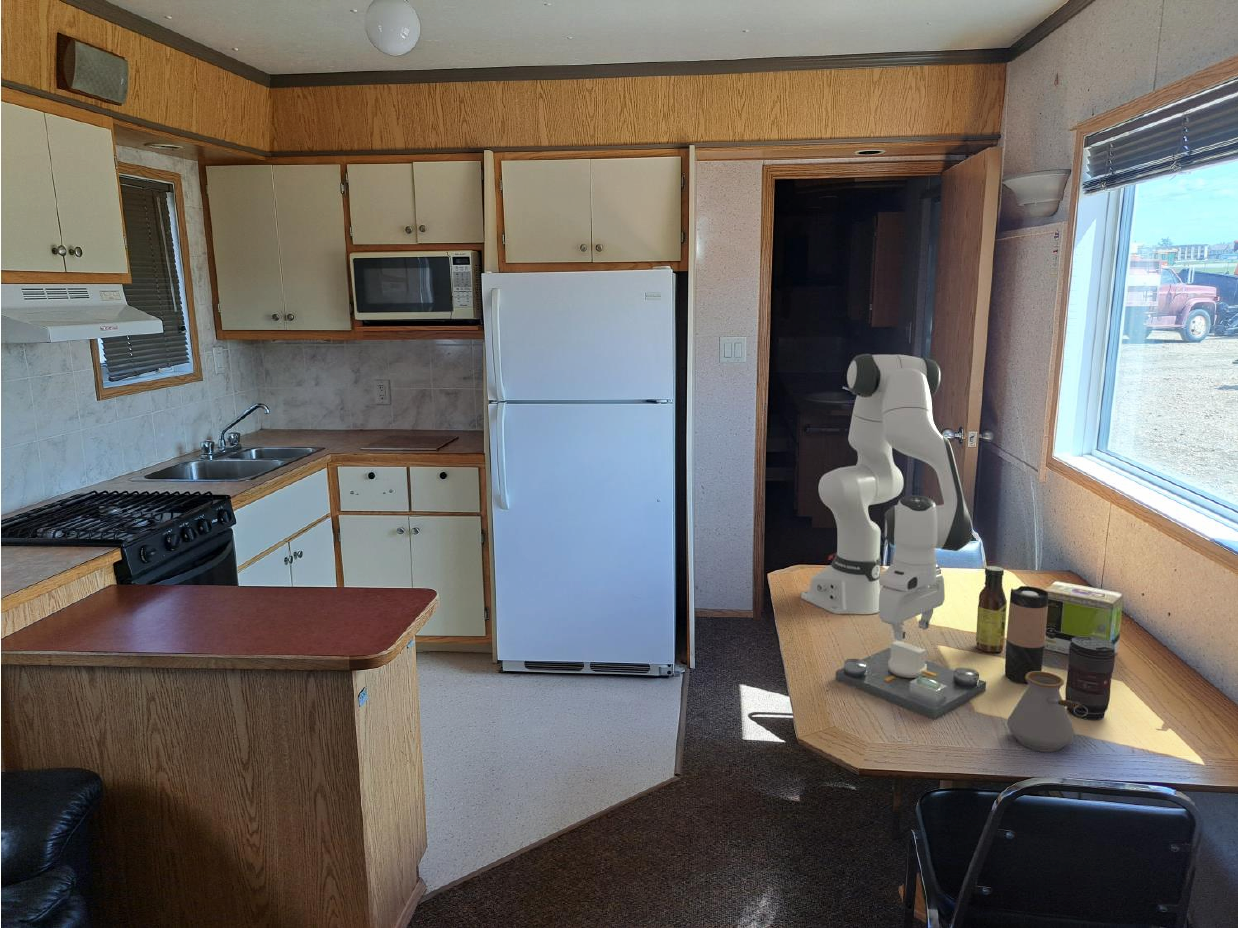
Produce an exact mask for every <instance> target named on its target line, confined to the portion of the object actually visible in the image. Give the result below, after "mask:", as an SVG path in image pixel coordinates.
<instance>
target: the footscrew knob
mask: <svg viewBox="0 0 1238 928" xmlns="http://www.w3.org/2000/svg"><path fill="white" fill-rule="evenodd" d="M890 648H891V658H890V659H889V661H888V670H889V671H890V672H891V673H893V674H895V675H898V676H901V677H906V678H918V677H919V676H924V675H928V676H931V677H933V678H936V677H937V674H935V673H932V672H929V671H926V669H927V665H926V663H925V661H926V651H927V649H924V648H921V647H918V646H915V645H912V644H910V643H906V642H903V641H902V640H895V641H893V642H891V644H890Z"/></svg>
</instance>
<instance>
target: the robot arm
mask: <svg viewBox="0 0 1238 928" xmlns="http://www.w3.org/2000/svg"><path fill="white" fill-rule="evenodd" d="M846 380H847V386H848V389H849V391H850V392H851V393H852V394H853V395H855V396H856V398H855V401H854V405H853V410H852V415H851V419H850V420H851V421H850V426H849V431H848V432H849V433H848V437H847V439H848V442H849V445H850V446H851V448H853V450H855V451H856V453H857V462H856V465H849V466H844V467H843V466H842V467H838V468H835V469H833V470H830V471H828V472H826V473H824V474H823V475H822V476H821V478H820V479H819V483H818V494H819V497H820V501H822V503H823V504H824V505H825V506H826V507H828V509H830V510H831V512H832V514H833V517H834V519H835V520H834V521H835V524H836V528H837V530H836V531H837V533H836V534H837V542H836V543H837V548H836V549H837V550H836V552H835V553H833V554H830V555H828V556H827V557H828V561H830V560H832V562H831V564H830V565H828V566H827V567H825V568H823V569H822V570H821V571H819V572H818V573H815V574H814V576H812V578H811V581H810V584H809V588H808V589H806V590H804V591H802V592H801V594H800V598H801V599H802V600H803V601H807V602H808V603H811V604H813V605H815V606H818V607H820V608H821V609H825V610H826V611H827V612H830V613H832V614H837V615H843V614H848V615H849V614H851V615H872V614H877V613H878V617H879V619H880V621H881V622H882V623H885V624H888V625H890V626H891V628H892V630H893V638H894V639H895V641H897V640H898V641H902V640H904V639H905V638H906V631H905V630H904V629H903V626H904V622H905V621H908V620H910V619H912V618H914V617H917V616H920V615H921V617H920V619H918V628H919V629H920V630H927V629H929V628H930V623H931V622H930V621H931V619H932V617H933V614H934V609H936V608H938V607H939V608H940V607H941V606H942V605H943V604H944V602H945V597H946V596H945V580H944V579H945V578H944V576H943V575H942V569H941V568H940V566H938V565H939V564H937V563H938V562H937V561H938V559H937V554H936V549H940V550H943V551H944V550H945V551H952V552H953V551H954V552H958V551H960V550H961V549H963V548H964V547H965V546H967V545H968V544H969V543H970V542H971V541H972V537H973V522H972V519H971V516H970V511H969V510H968V507H967V504H966V499H965V496H964V492H963V491H964V490H963V488H962V483H961V479H960V476H959V471H958V466H957V463H956V462H957V461H956V458H955V455H954V451H953V448H952V445H951V442H950V440H949V438H948V437H946V436H944V435H943V434H941V433H940V432H939V430H938V429H937V426H936V425H935V422H934V415H933V405H932V398H933V397H934V396H935V395H936V394H937V392H938V391H939V387H940V383H941V368H940V366H939V365H938V363H937V362H936V361H935V360H933V359H930V358H927V357H923V356H921V357H916V356H912V355H911V356H910V355H906V354H899V353H898V354H871V353H863V354H857V355H856V356H855V357H854V358H853V359H852V360H851V361H850V363H849V366H848V369H847V373H846ZM893 449H894V450H896V451H897V452H899V453H900V454H903V455H905V456H909V457H912V458H913V459H917V460H919V461H921V462H924V463H925V464H928V465H929V466H930V467H932V468H933V470H934V471H935V472H936V473H935V474H936V475H937V479H938V482H939V483H938V484H939V487H940V492H941V496H942V500H943V504H938V505H937V504H936V503H935V501H934V500H933V499H931V498H929V497H926V496H923V495H915V494H914V495H907V496H904V497H901V498H899V500H898V503H897V504H896V505H895V504H894V505H893V506H891V507H889V508H888V510H887V511H886V512H885V513H884V515H883V516H884V530H883V538H884V539H885V541H887V542H888V543H889V544H890V545H891V546H893V547H895V549H894V554H893V557H892V563H890V565H889V566H888V568H886V570H885V571H884V572H882V573H881V571H882V570H881V569H882V568H881V567H882V556H881V554H880V553H881V536H882V535H881V532H882V531H881V528H880V527H879V525H878V524H877V523H876V522H875V521H872V519H871V518H870V515H869V506H871V505H872V506H873V505H877V504H884V503H886V502H888V501H890V500H893V499H894V498H896V497H898V496H899V495H900V494H901V493H902V491H903V489H904V476H903V474H902V472H901V470H900V469H899V467H897V466H896V463H895V462H894V457H893ZM880 586H882V587H881V588H880Z"/></svg>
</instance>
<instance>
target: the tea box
mask: <svg viewBox="0 0 1238 928" xmlns="http://www.w3.org/2000/svg"><path fill="white" fill-rule="evenodd" d="M1044 590H1045V591H1046V592H1048V594H1049V598H1048V611H1047V623H1046V636H1045V647H1044V650H1045V649H1046V650H1049V651H1052V652H1053V651H1054V652H1058V653H1061V654H1062V653H1063V654H1065V655H1066V654H1067V655H1069V646H1070V643H1071V640H1072V638H1074V637H1080V636H1086V637H1095V638H1099V639H1103V640H1106V641H1108V642H1110V643H1112V644H1113V645H1114V646H1115V655H1116V654H1117V653H1118V651H1119V644H1120V636H1121V623H1122V614H1123V613H1122V612H1123V603H1124V602H1123V601H1124V593H1123V592H1118V591H1115V590H1114V591H1112V590H1108V589H1103V588H1096V587H1091V586H1086V585H1080V584H1075V583H1074V584H1073V583H1068V582H1063V581H1058V580H1055V581H1054V582H1053V583H1052V584H1050V585H1049V586H1048V587H1046V588H1044Z"/></svg>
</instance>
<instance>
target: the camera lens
mask: <svg viewBox="0 0 1238 928" xmlns="http://www.w3.org/2000/svg"><path fill="white" fill-rule="evenodd" d="M1067 655H1068V656H1067V657H1068V658H1067V665H1068V666H1067V675H1066V682H1065V692H1064V694H1065V696H1064V697H1065V699H1064V700H1071V701H1073V702H1074V701H1076V702H1078V703H1080V704H1082V705H1083V706H1084V707H1082V708H1077V709H1075V713H1076V714H1077V715H1079V716H1077V715H1076V714H1075V713H1074V708H1073V707H1072V708H1069V707H1066V711H1067V713H1069V714H1070V715H1072V716H1074V717H1076V718H1079V719H1083V720H1086V721H1087V720H1088V721H1097V720H1098V721H1099V720H1102V719H1103V718H1105V714H1106V712H1107V710H1108V709H1109V704H1110V699H1111V685H1112V677H1113V673H1114V669H1115V658H1116V654H1115V646H1114V645H1113V644H1112V643H1110V642H1108V641H1106V640H1103V639H1099V638H1095V637H1086V636H1080V637H1074V638H1072V640H1071V643H1070V646H1069V654H1067ZM1085 707H1086V708H1087V710H1088V713H1087V710H1086V708H1085ZM1086 713H1087V715H1085V714H1086ZM1083 715H1085V716H1083ZM1081 716H1082V717H1081Z"/></svg>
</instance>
